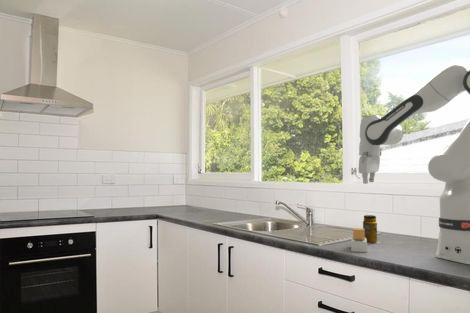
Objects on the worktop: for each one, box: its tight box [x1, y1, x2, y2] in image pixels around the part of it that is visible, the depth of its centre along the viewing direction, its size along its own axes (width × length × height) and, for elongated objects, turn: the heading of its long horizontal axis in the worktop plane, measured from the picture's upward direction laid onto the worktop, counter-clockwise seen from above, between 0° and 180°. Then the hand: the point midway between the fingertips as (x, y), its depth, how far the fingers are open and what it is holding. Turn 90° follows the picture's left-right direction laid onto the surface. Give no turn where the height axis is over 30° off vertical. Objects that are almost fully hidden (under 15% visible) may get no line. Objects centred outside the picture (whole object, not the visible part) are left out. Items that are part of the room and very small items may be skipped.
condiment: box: [362, 214, 382, 245], centre depth 170 cm, size 7×8×12 cm
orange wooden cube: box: [352, 227, 365, 240], centre depth 154 cm, size 4×4×4 cm
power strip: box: [350, 236, 368, 253], centre depth 154 cm, size 10×6×4 cm, turn 162°
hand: (368, 182), depth 167 cm, fingers open, 8 cm apart
